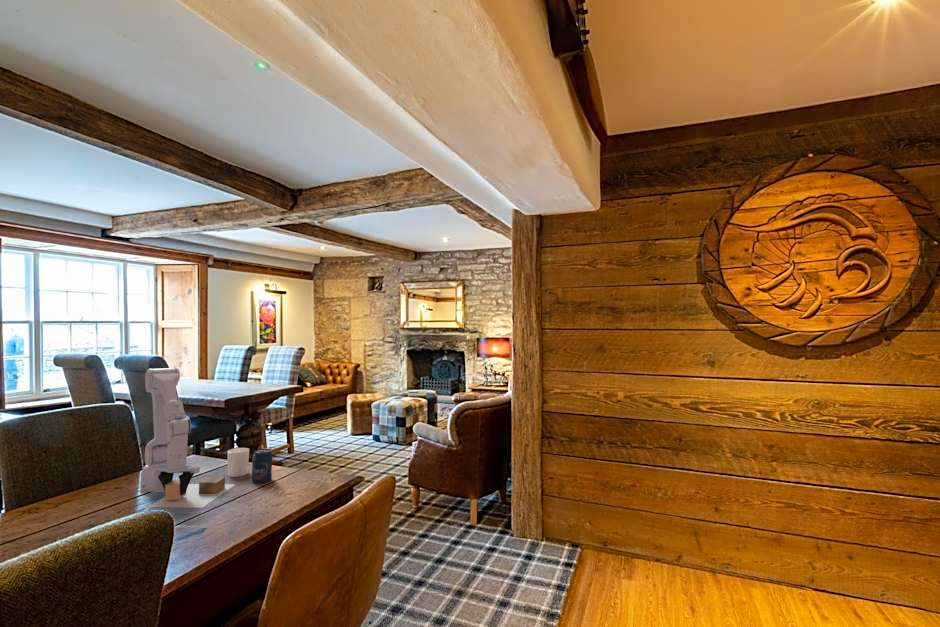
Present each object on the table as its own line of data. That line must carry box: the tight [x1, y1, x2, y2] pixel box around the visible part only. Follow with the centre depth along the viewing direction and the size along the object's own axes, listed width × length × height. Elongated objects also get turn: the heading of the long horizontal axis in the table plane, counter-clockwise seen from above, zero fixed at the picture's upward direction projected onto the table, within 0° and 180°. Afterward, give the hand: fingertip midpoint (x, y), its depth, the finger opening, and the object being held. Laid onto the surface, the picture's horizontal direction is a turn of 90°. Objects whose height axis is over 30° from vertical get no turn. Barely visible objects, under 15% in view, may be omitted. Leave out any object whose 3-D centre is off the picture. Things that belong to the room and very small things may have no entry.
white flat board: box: [147, 483, 237, 509], centre depth 158 cm, size 18×22×1 cm
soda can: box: [251, 448, 273, 485], centre depth 174 cm, size 7×7×12 cm
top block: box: [164, 479, 186, 500], centre depth 154 cm, size 4×4×5 cm
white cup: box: [226, 447, 250, 478], centre depth 181 cm, size 8×8×10 cm
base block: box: [198, 476, 226, 494], centre depth 162 cm, size 6×6×4 cm
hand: (175, 494), depth 154 cm, fingers closed on top block, 4 cm apart
